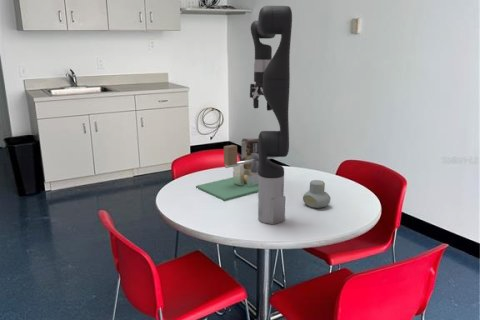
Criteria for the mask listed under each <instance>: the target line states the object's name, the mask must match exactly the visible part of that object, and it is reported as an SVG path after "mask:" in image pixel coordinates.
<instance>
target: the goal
mask: <svg viewBox="0 0 480 320" xmlns="http://www.w3.org/2000/svg"><path fill="white" fill-rule="evenodd" d="M244 175H248V176H247V187H252V186H256V185H258V184H259V174H257V173H254V172H252V171H249V170H246V169H244Z"/></svg>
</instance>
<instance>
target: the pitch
mask: <svg viewBox="0 0 480 320" xmlns="http://www.w3.org/2000/svg"><path fill="white" fill-rule="evenodd" d="M195 187H196V189H197V188H198V190H200V191H202V192H204V193H206V194H209V195H210V196H212V197H215V198H216V199H219V200H220V201H221V200H222V201H223V202H226V201H231V200H233V199H237V198H241V197H245V196H249V195H252V194H256V193H257V194H258V185H256V186H252V187H247V183H244V185H241V186H240V185H237V184H235V183H233V176H232V177H228V178H225V179H224V178H223V179H219V180H215V181H211V182H206V183H203V184H197V185H195Z"/></svg>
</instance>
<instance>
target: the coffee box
mask: <svg viewBox="0 0 480 320" xmlns="http://www.w3.org/2000/svg"><path fill="white" fill-rule="evenodd" d="M240 141H241V161H246V160H250V159H251V153H257V154H259V150H258V138H242V139H241V140H240ZM244 169H246V170H249V171H251V163H248V164H244Z"/></svg>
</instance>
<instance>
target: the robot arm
mask: <svg viewBox="0 0 480 320" xmlns="http://www.w3.org/2000/svg"><path fill="white" fill-rule="evenodd" d="M291 8H292V7H290V6H289V5H265V6H262V7H261V8H260V10H259V12H258V19H257V20H254V21H253V22H252V23H251V24H250V33H251V34H250V35H251V37H252V41H253V44H254V64H253V65H254V66H253V82H254V83H250V85H249V98H251V99H252V100H253V102H252V103H253V104H252V105H253V108H254V109H258V108H259V107H260V106H259V98H260V96H263V97H264V99H265V101H266V111H267V112H269V111H270V112H271V111H272V112H273V113H274V115H275V117H276V120H277V123H278V126H279V130H262V131H260V132H259V134H258V138H257V139H258V150H259V184H258V192H257V195H258V197H257V198H258V199H257V200H258V201H257V206H258V207H257V211H258V212H257V219H258V221H259V222H261V223H264V224H270V225H276V224H279V223H282V222H284V221H286V196H285V194H284V192H285V191H284V189H285V187H284V186H285V168H284V167H283V165H282V164H281V165H280V164H277V163H275V162H273V161H271V159H268V158H267V157H276V158H285V157H287V156H288V154H289V151H290V125H289V123H290V122H289V107H290V106H289V104H290V89H291V87H290V83H291V82H290V80H291V79H290V78H291V76H290V75H291V73H290V72H291V71H290V70H291V69H290V63H291V62H290V54H291V43H292V42H291V40H292V29H293V28H292V27H293V12H292V9H291ZM276 35H280V41H279V45H278V47H277V49H276V51H275V53H274V54H273V53H272V52H273V47H272V46H271V44H270V45H269V44H266V43H262V42H261V41H260V39H262V40H263V39H265V40H266V39H274V38H275V37H276Z"/></svg>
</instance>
